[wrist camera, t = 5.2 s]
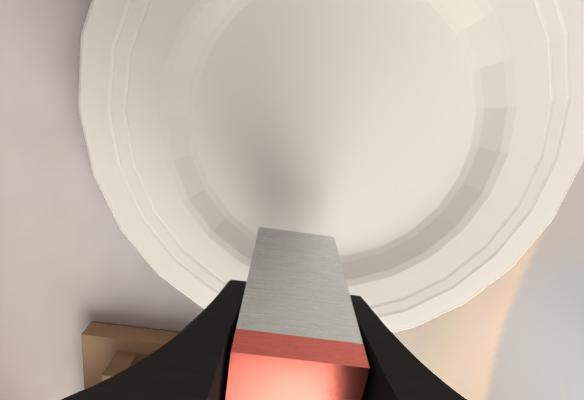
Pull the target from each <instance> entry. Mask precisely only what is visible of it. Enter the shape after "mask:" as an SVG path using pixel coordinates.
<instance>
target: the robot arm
mask: <svg viewBox="0 0 584 400" xmlns="http://www.w3.org/2000/svg"><path fill="white" fill-rule="evenodd" d="M246 282H247V281H239V280H230V281H228V282H227V284H226V285H225V286H224V288H223V289H222V290H221V292H220V293H219V294H218V295H217V296H216V297H215V299H214V300H213V301H212V302H211V303H210V304H209V305H208V306H207V307H206V308H205V309H204V310H203V311H202V312H201V313H200V314H199V315H198V316H197V317H196V318H195V319H194V320H193V321H192V322H191V323H190V324H189V325H187V326H186V327H185V328H184V329H183V330H182V331H181V332H179V333H178V334H177V335H176V336H175V337H173V338H172V339H171V340H169V341H168V342H167V343H165V344H164V345H163V346H161V347H160V348H159V349H157V350H156V351H154V352H153V353H151V354H150V355H148V356H147V357H145V358H144V359H142V360H141V361H139V362H137V363H136V364H134V365H132V366H131V367H129V368H127V369H125V370H123V371H122V372H120V373H118V374H116V375H114V376H112V377H110V378H108V379H106V380H104V381H102V382H100V383H98V384H96V385H94V386H92V387H89V388H87V389H85V390H82V391H80V392H78V393H76V394H73V395H71V396H69V397H66V398H64V399H62V400H225V398H226V389H227V380H228V371H229V363H230V354H231V348H232V344H233V340H234V335H235V331H236V326H237V322H238V317H239V313H240V309H241V304H242V300H243V295H244V291H245V287H246ZM350 297H351V301H352V305H353V308H354V312H355V316H356V319H357V323H358V327H359V330H360V334H361V338H362V341H363V345H364V349H365V352H366V356H367V360H368V363H369V367H370V370H369V373H368V377H367V381H366V384H365V388H364V392H363V396H362V399H361V400H466V399H465V398H464V397H462V396H461V395H460V394H458V393H457V392H456V391H454V390H453V389H452V388H450V387H449V386H448V385H447V384H445V383H444V382H443V381H442V380H440V379H439V378H438V377H437V376H436V375H435V374H433V373H432V372H431V371H430V370H429V369H428V368H427V367H425V366H424V365H423V364H422V363H421V362H420V361H419V360H418V359H417V358H416V357H415V356H414V355H413V354H412V353H411V352H410V351H409V350H408V349H407V348H406V347H405V346H404V345H403V344H402V343H401V342H400V341H399V340H398V339H397V338H396V337H395V336H394V335H393V333H392V332H391V331H390V330H389V329H388V328H387V327H386V326H385V324H384V323H383V322H382V321H381V320H380V319H379V317H378V316H377V315H376V314H375V313H374V311H373V310H372V309H371V308H370V307H369V305H368V304H367V303H366V302H365V301H364V300H363V298H362V297H361V296H357V295H350Z"/></svg>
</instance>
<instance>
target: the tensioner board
mask: <svg viewBox="0 0 584 400" xmlns="http://www.w3.org/2000/svg"><path fill="white" fill-rule="evenodd" d="M178 333H179V332H172V331H164V330H156V329H147V328H139V327H131V326H122V325H114V324H106V323H97V322H91V324H90V325H89V326H88V327H87V329H86V330H85V331H84V332H83V333H82V351H83V368H84V386H85V389H87V388H89V387H92V386H94V385H96V384H98V383H100V382H102V381H104V380H106V379H108V378H110V377H112V376H114V375H116V374H118V373H120V372H122V371H123V370H125V369H127V368H129V367H131V366H132V365H134V364H136V363H137V362H139V361H141V360H142V359H144V358H145V357H147V356H148V355H150V354H151V353H153V352H154V351H156V350H157V349H159V348H160V347H161V346H163V345H164V344H165V343H167V342H168V341H169V340H171V339H172V338H173V337H175V336H176V335H177V334H178Z"/></svg>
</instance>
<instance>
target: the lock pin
mask: <svg viewBox="0 0 584 400" xmlns="http://www.w3.org/2000/svg"><path fill="white" fill-rule="evenodd" d="M369 370H370V367H369V363H368V360H367V356H366V352H365V349H364V345H363V341H362V338H361V334H360V330H359V327H358V323H357V319H356V316H355V312H354V308H353V305H352V301H351V297H350V294H349V290H348V286H347V283H346V279H345V275H344V272H343V268H342V264H341V261H340V257H339V253H338V250H337V246H336V242H335V238H334V237H331V236H323V235H316V234H309V233H301V232H294V231H287V230H279V229H272V228H264V227H259V229H258V234H257V238H256V242H255V247H254V251H253V256H252V260H251V265H250V269H249V273H248V278H247V282H246V287H245V291H244V295H243V300H242V304H241V309H240V313H239V317H238V322H237V326H236V331H235V335H234V340H233V344H232V348H231V354H230V363H229V371H228V380H227V389H226V398H225V400H361V399H362V396H363V392H364V388H365V384H366V381H367V377H368V373H369Z"/></svg>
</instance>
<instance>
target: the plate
mask: <svg viewBox="0 0 584 400" xmlns="http://www.w3.org/2000/svg"><path fill="white" fill-rule="evenodd" d="M78 110H79V115H80V120H81V124H82V129H83V134H84V138H85V143H86V147H87V152H88V157H89V161H90V166H91V171H92V174H93V176H94V178H95V180H96V182H97V184H98V186H99V188H100V190H101V192H102V194H103V196H104V198H105V200H106V202H107V204H108V206H109V208H110V210H111V212H112V214H113V216H114V219H115V221H116V223H117V225H118V227H119V229H120V230H121V231H122V233H123V234H124V235H125V236H126V237H127V239H128V240H129V241H130V242H131V243H132V244H133V246H134V247H135V248H136V249H137V250H138V252H139V253H140V254H141V255H142V256H143V258H144V259H145V260H146V261H147V262H148V264H149V265H150V266H151V267H152V268H153V270H154V271H155V272H156V273H157V274H158V275H159V276H160V277H162V278H163V279H164V280H166V281H167V282H168V283H170V284H171V285H172V286H174V287H175V288H176V289H178V290H179V291H180V292H182V293H183V294H184V295H186V296H187V297H188V298H190V299H191V300H192V301H194V302H195V303H196V304H198V305H199V306H200V307H202V308H203V309H205V308H206V307H207V306H208V305H209V304H210V303H211V302H212V301H213V300H214V299H215V297H216V296H217V295H218V294H219V293H220V292H221V290H222V289H223V288H224V286H225V285H226V284H227V282H228V281H230V280H239V281H247V278H248V273H249V269H250V265H251V260H252V256H253V251H254V247H255V242H256V238H257V234H258V229H259V227H264V228H272V229H279V230H287V231H294V232H301V233H309V234H316V235H323V236H331V237H334V238H335V242H336V246H337V250H338V253H339V257H340V261H341V264H342V268H343V272H344V275H345V279H346V283H347V286H348V290H349V294H350V295H357V296H361V297H362V298H363V300H364V301H365V302H366V303H367V304H368V305H369V307H370V308H371V309H372V310H373V311H374V313H375V314H376V315H377V316H378V317H379V319H380V320H381V321H382V322H383V323H384V324H385V326H386V327H387V328H388V329H389V330H390V331H391V332H392V333H393V332H397V331H402V330H406V329H410V328H414V327H416V326H418V325H420V324H423V323H425V322H427V321H429V320H431V319H433V318H435V317H437V316H440V315H442V314H444V313H446V312H448V311H450V310H452V309H454V308H457V307H459V306H461V305H463V304H465V303H466V302H468V301H469V300H470V299H472V298H473V297H474V296H476V295H477V294H478V293H480V292H481V291H482V290H483V289H485V288H486V287H487V286H489V285H490V284H491V283H493V282H494V281H495V280H497V279H498V278H499V277H500V276H502V275H503V274H504V273H506V272H507V271H508V270H510V269H511V268H512V267H513V266H514V265H515V264H516V263H517V261H518V260H519V259H520V258H521V257H522V255H523V254H524V253H525V252H526V251H527V250H528V248H529V247H530V246H531V245H532V244H533V243H534V241H535V240H536V239H537V238H538V237H539V235H540V234H541V233H542V232H543V231H544V230H545V228H546V227H547V226H548V225H549V224H550V222H551V221H552V220H553V218H554V217H555V215H556V213H557V210H558V209H559V207H560V205H561V203H562V201H563V199H564V197H565V195H566V193H567V192H568V189H569V187H570V186H571V184H572V182H573V180H574V178H575V176H576V174H577V172H578V170H579V168H580V167H581V165H582V163H583V160H584V0H92V1H91V4H90V7H89V10H88V13H87V16H86V19H85V23H84V26H83V29H82V32H81V41H80V65H79V89H78Z"/></svg>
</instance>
